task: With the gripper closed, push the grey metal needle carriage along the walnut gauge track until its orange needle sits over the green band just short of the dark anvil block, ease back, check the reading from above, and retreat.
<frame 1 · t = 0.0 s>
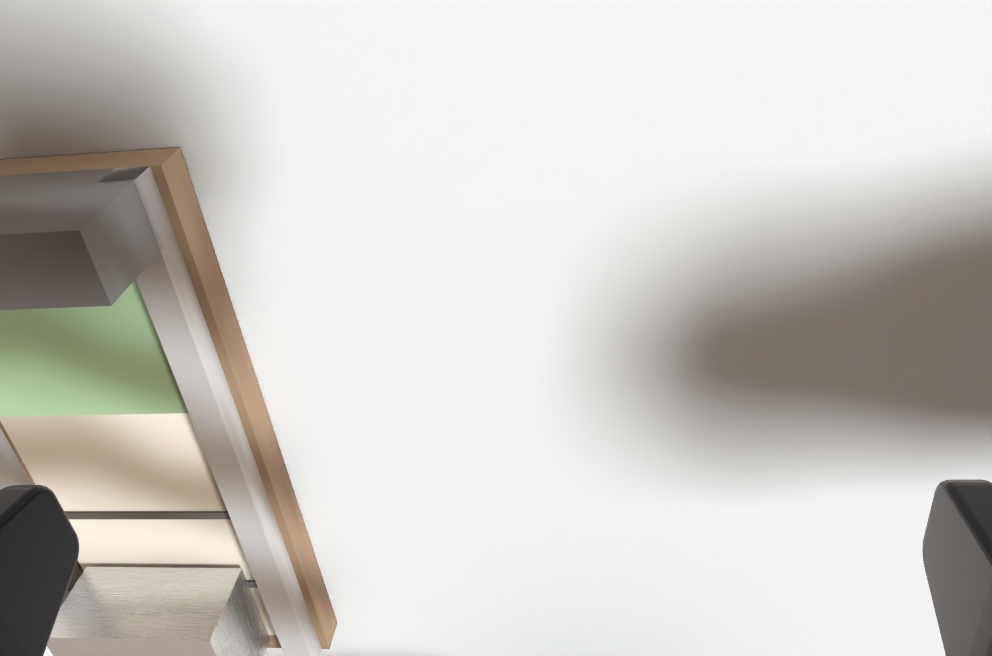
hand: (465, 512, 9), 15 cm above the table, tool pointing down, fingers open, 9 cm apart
needle carriage: (161, 641, 30), point 3 cm above the table, slide at 0.0 cm
gauge track: (135, 433, 29), on the table
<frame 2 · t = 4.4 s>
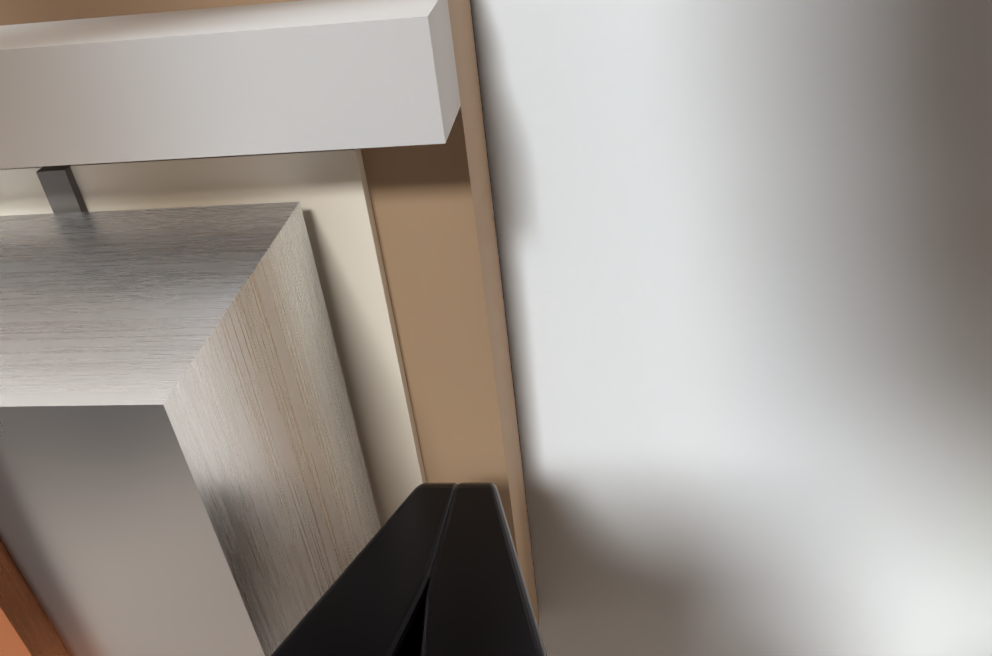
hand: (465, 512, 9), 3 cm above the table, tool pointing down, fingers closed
needle carriage: (128, 555, 9), point 3 cm above the table, slide at 0.6 cm, touching gripper
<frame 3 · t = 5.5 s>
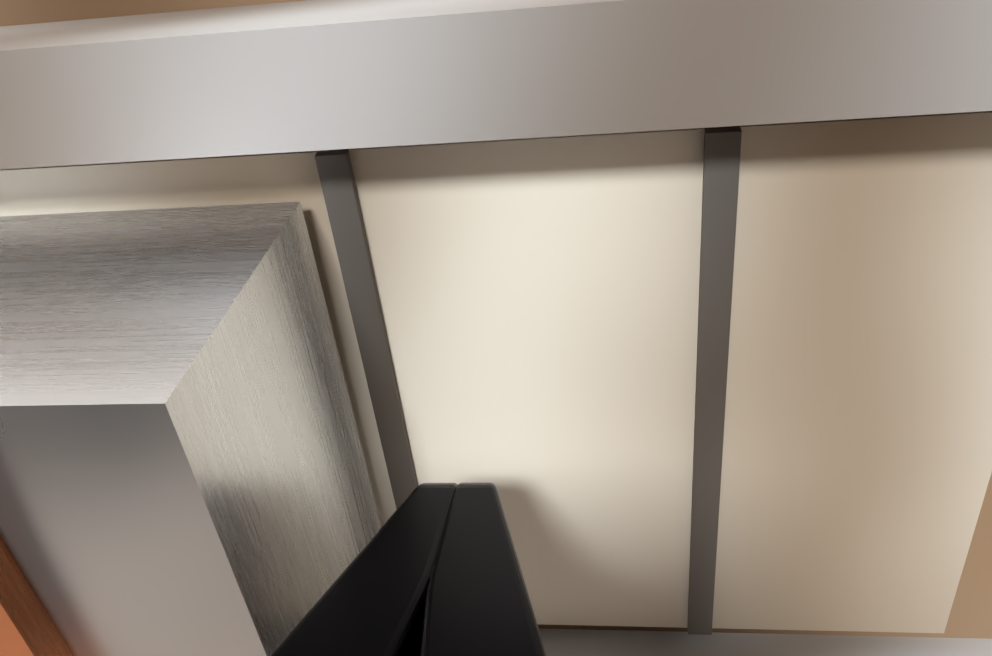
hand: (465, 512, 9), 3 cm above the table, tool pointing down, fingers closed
needle carriage: (129, 554, 9), point 3 cm above the table, slide at 6.9 cm, touching gripper
gauge track: (230, 365, 11), on the table
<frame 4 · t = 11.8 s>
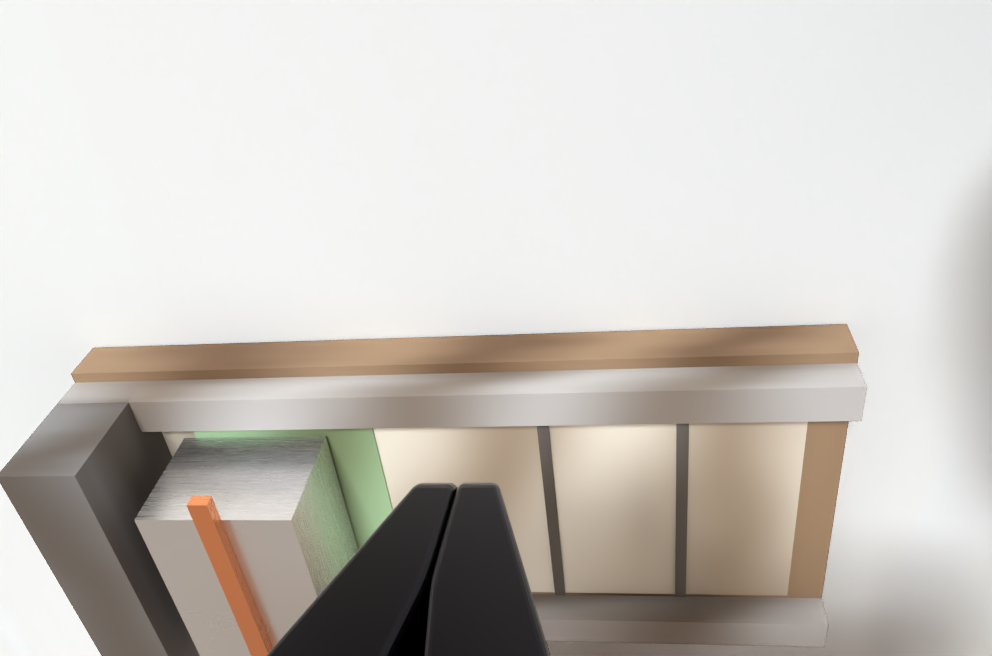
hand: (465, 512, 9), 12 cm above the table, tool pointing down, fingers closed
needle carriage: (262, 561, 23), point 3 cm above the table, slide at 12.3 cm
gauge track: (469, 477, 25), on the table
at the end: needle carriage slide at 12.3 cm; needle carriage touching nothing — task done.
